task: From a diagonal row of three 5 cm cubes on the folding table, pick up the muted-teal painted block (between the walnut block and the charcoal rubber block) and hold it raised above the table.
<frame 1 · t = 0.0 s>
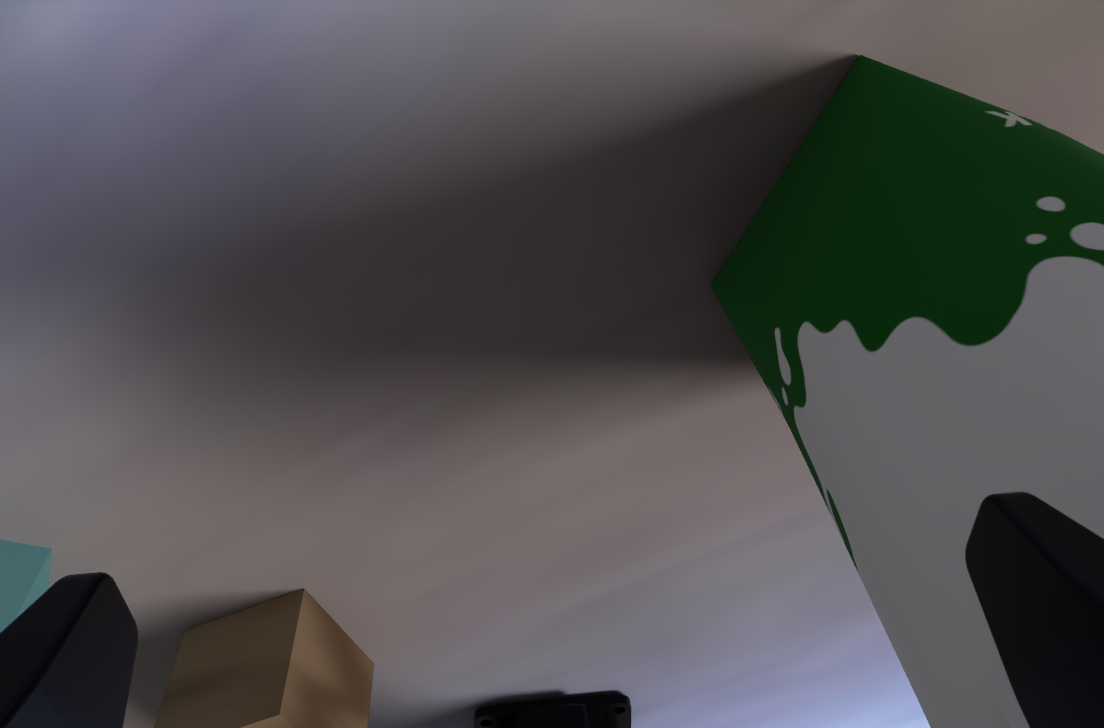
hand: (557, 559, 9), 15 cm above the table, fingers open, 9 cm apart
walnut block: (282, 645, 32), on the table
milk carton: (875, 223, 24), on the table
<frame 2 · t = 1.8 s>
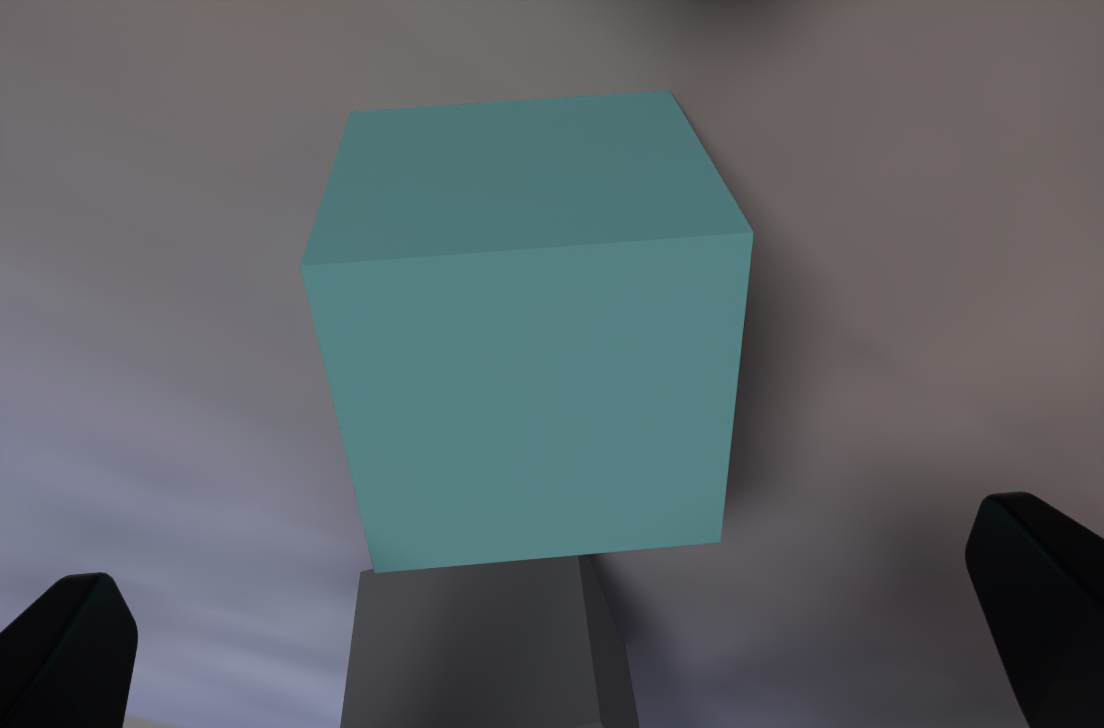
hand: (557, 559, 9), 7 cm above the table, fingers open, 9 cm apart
teal block: (521, 241, 15), on the table
charcoal block: (500, 608, 21), on the table
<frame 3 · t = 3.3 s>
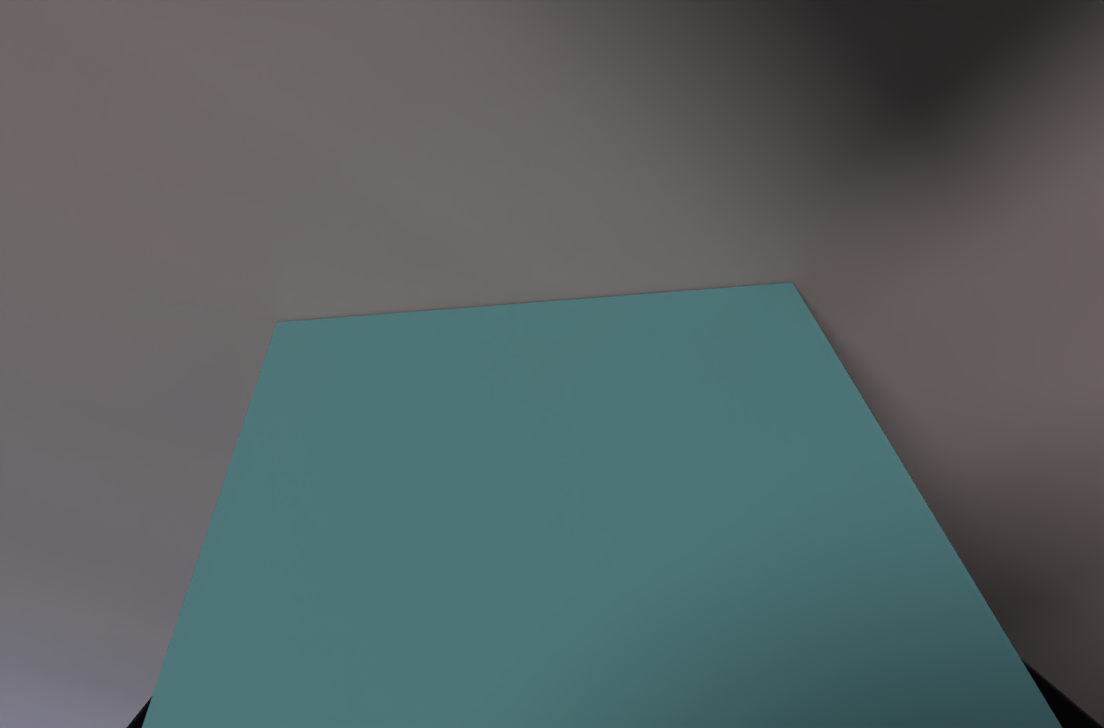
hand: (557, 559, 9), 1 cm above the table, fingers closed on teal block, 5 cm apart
teal block: (549, 489, 10), on the table, touching gripper
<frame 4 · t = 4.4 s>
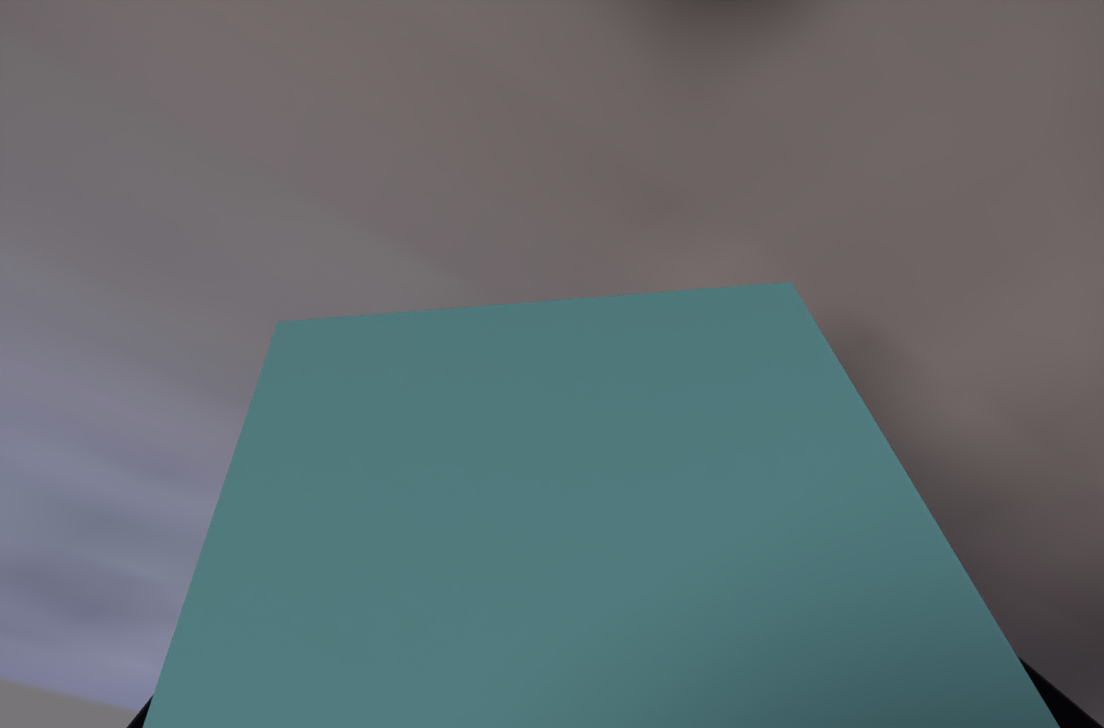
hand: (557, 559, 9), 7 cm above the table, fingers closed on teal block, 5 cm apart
teal block: (548, 488, 10), point 6 cm above the table, touching gripper
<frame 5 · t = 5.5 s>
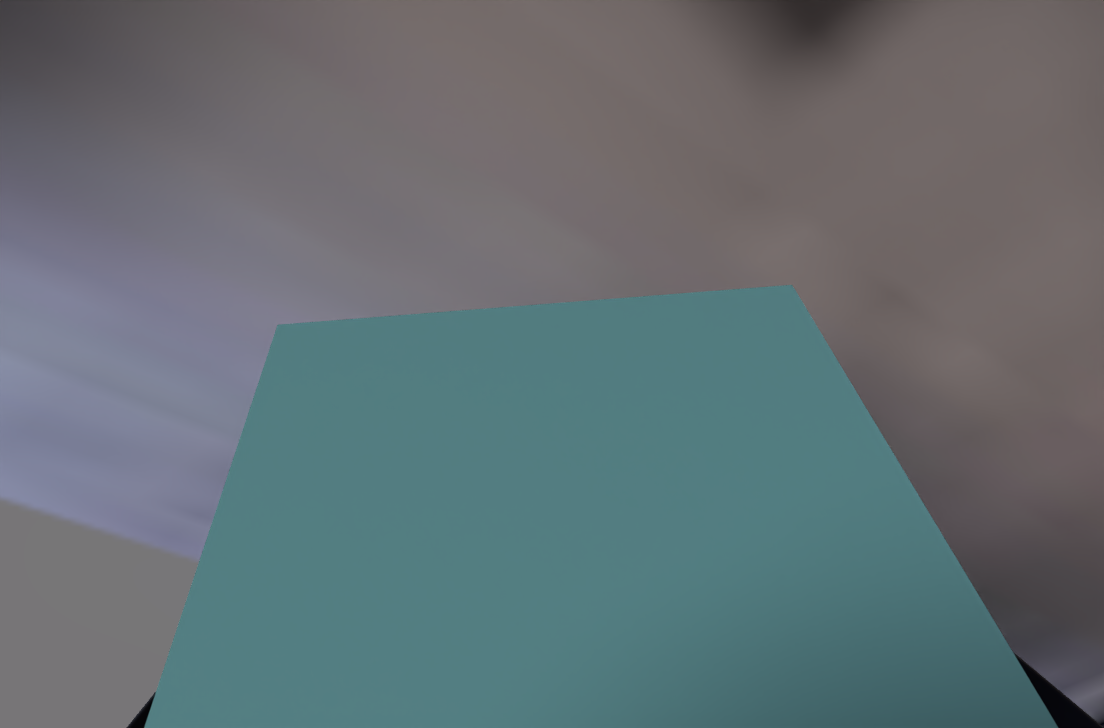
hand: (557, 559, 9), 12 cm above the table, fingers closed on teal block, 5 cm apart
teal block: (549, 490, 10), point 11 cm above the table, touching gripper
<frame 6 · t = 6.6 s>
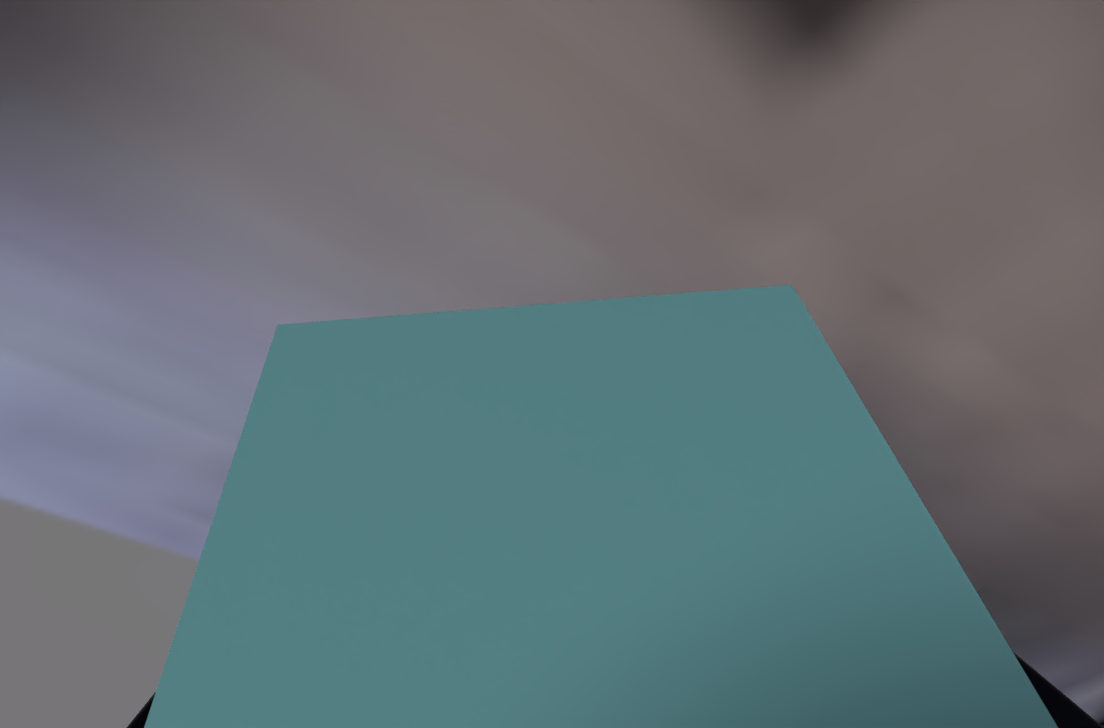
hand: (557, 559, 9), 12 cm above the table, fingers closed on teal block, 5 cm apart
teal block: (549, 490, 10), point 11 cm above the table, touching gripper
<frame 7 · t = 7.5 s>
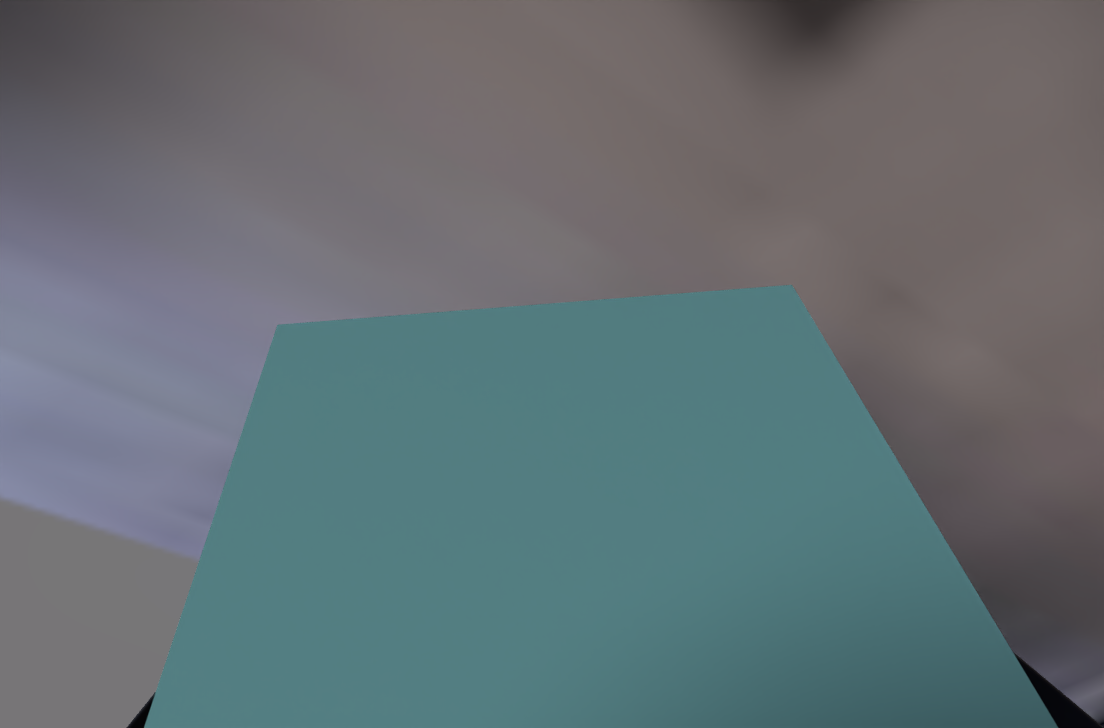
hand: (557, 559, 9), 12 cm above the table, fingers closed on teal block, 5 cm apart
teal block: (549, 490, 10), point 11 cm above the table, touching gripper
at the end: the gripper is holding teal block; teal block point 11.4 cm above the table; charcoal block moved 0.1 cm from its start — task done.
